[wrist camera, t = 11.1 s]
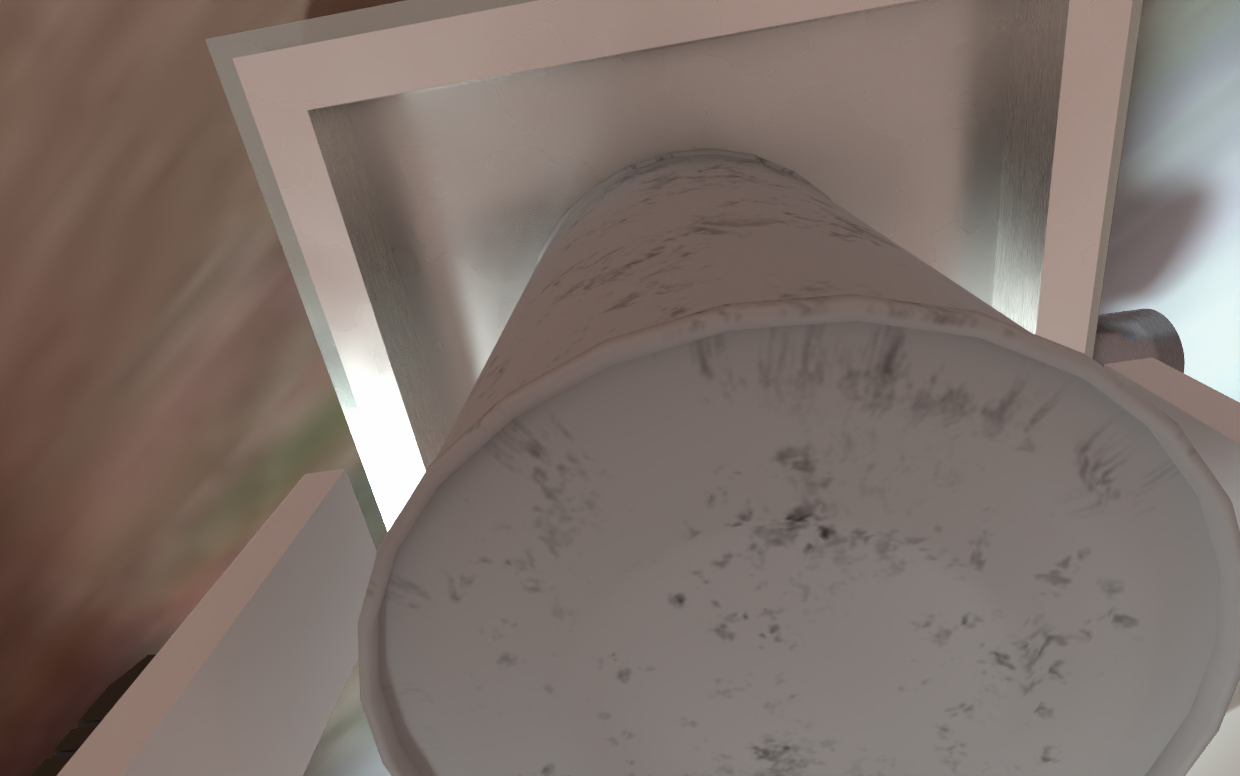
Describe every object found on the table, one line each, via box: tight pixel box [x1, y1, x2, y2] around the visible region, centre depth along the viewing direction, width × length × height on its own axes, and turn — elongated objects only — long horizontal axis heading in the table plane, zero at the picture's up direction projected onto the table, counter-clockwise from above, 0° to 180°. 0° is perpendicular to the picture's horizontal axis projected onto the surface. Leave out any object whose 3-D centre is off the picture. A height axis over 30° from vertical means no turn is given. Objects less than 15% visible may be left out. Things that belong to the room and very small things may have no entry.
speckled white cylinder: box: [358, 149, 1240, 776], centre depth 13 cm, size 10×10×12 cm
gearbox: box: [205, 0, 1184, 531], centre depth 20 cm, size 25×18×8 cm
